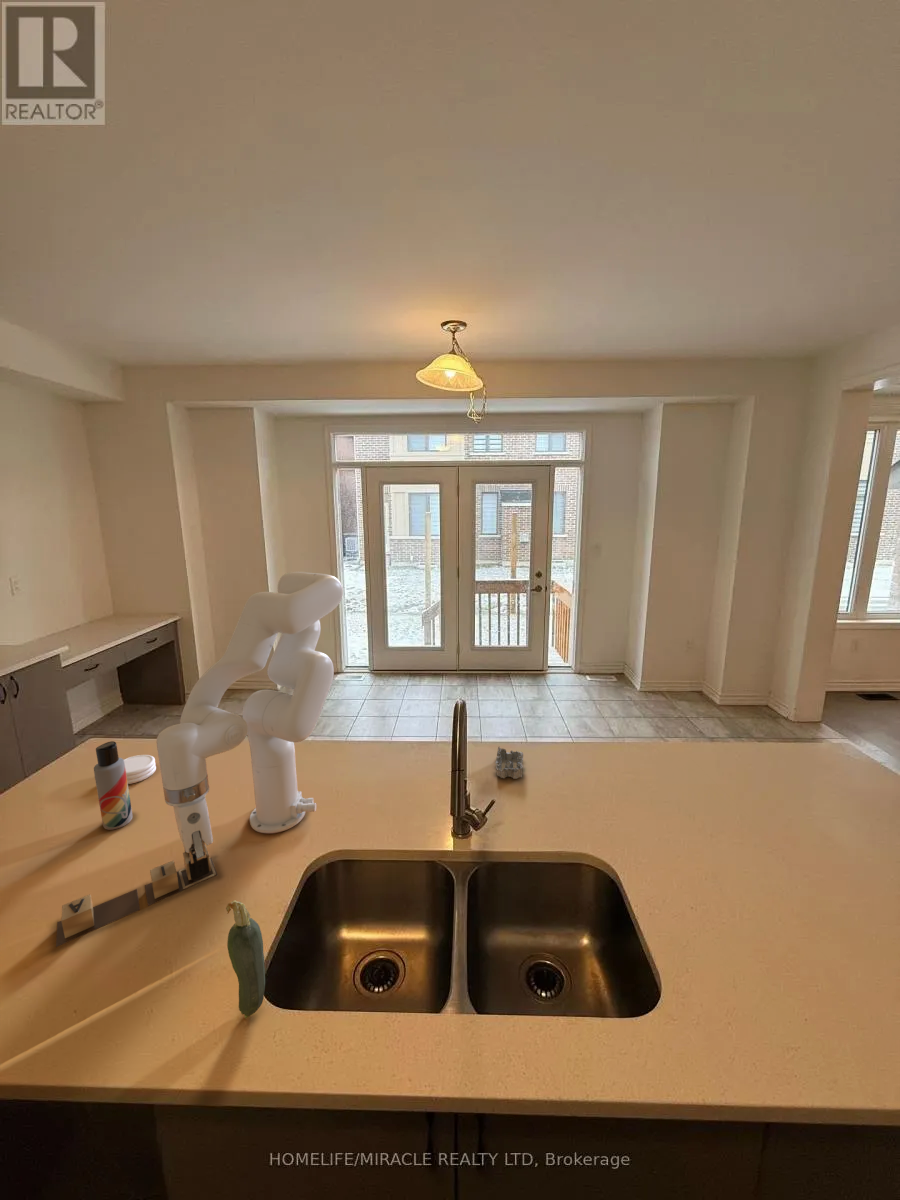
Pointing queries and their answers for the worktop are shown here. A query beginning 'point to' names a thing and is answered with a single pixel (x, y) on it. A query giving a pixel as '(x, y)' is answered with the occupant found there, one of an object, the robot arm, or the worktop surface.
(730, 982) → the worktop surface
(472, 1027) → the worktop surface
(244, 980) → the vegetable
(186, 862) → the tile
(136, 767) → the coaster
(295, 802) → the robot arm
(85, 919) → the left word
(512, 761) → the egg carton
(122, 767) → the lotion bottle
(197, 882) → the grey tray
